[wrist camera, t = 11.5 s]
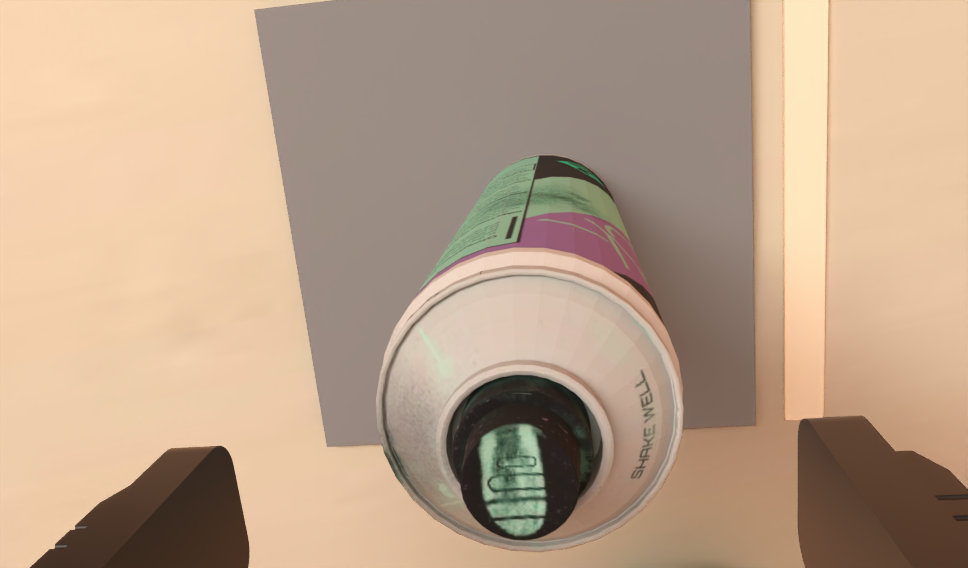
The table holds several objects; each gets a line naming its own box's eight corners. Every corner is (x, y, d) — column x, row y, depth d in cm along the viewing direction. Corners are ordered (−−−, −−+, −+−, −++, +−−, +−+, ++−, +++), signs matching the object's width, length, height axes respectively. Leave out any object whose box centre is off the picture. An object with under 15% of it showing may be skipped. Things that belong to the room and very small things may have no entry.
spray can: (533, 318, 31) (488, 712, 12) (448, 211, 30) (252, 451, 11) (646, 236, 30) (798, 532, 11) (559, 123, 29) (556, 223, 10)
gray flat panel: (826, -57, 27) (832, -60, 27) (821, 416, 32) (826, 421, 31) (259, 10, 30) (254, 9, 29) (330, 441, 34) (327, 446, 34)
